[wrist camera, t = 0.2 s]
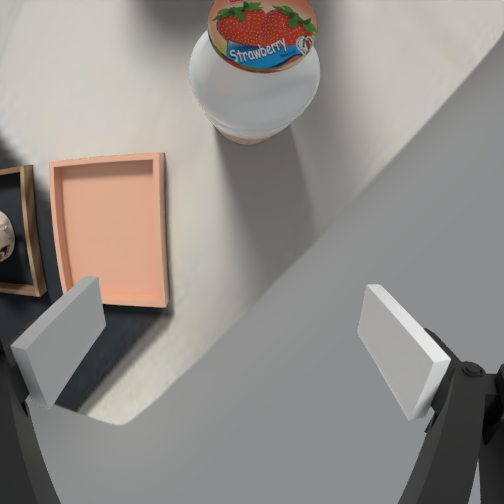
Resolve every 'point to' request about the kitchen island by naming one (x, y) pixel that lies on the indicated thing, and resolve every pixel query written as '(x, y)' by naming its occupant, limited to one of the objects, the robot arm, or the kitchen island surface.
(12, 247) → the teacup with lid
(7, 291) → the walnut corral
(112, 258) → the terracotta dish
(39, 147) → the kitchen island surface
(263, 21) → the fruit juice
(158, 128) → the kitchen island surface
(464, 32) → the kitchen island surface
